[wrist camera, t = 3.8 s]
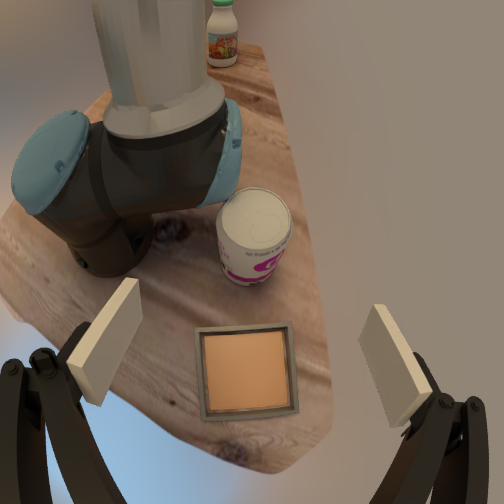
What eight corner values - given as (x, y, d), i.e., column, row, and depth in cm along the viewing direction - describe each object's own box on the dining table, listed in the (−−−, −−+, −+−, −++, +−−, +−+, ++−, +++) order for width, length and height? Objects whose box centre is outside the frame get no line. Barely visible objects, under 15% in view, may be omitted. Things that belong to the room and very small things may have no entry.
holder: (295, 409, 35) (299, 412, 32) (203, 416, 34) (201, 421, 31) (287, 323, 39) (291, 321, 37) (196, 328, 38) (194, 327, 36)
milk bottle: (201, 62, 59) (198, -1, 40) (222, 52, 62) (223, -7, 43) (221, 71, 58) (222, 4, 39) (242, 61, 60) (246, -2, 41)
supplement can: (285, 263, 42) (312, 221, 28) (244, 298, 40) (252, 272, 26) (250, 225, 44) (259, 170, 30) (209, 257, 42) (198, 212, 27)
